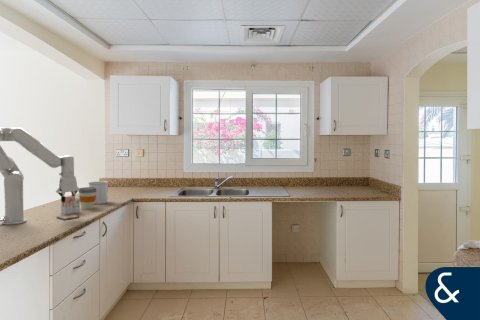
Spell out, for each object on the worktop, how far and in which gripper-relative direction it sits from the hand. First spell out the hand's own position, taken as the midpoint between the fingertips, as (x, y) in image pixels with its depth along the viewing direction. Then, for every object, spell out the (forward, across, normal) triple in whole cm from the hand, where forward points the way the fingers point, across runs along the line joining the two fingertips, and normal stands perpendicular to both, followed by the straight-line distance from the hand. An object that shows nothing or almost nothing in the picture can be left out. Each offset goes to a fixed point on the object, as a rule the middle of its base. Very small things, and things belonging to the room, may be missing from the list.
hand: (68, 201), depth 220 cm
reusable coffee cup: (+11, +27, +23) cm, 37 cm away
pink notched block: (+3, 0, 0) cm, 3 cm away
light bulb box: (+11, +9, +14) cm, 20 cm away
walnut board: (+11, 0, 0) cm, 11 cm away
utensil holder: (+12, +44, +36) cm, 58 cm away
